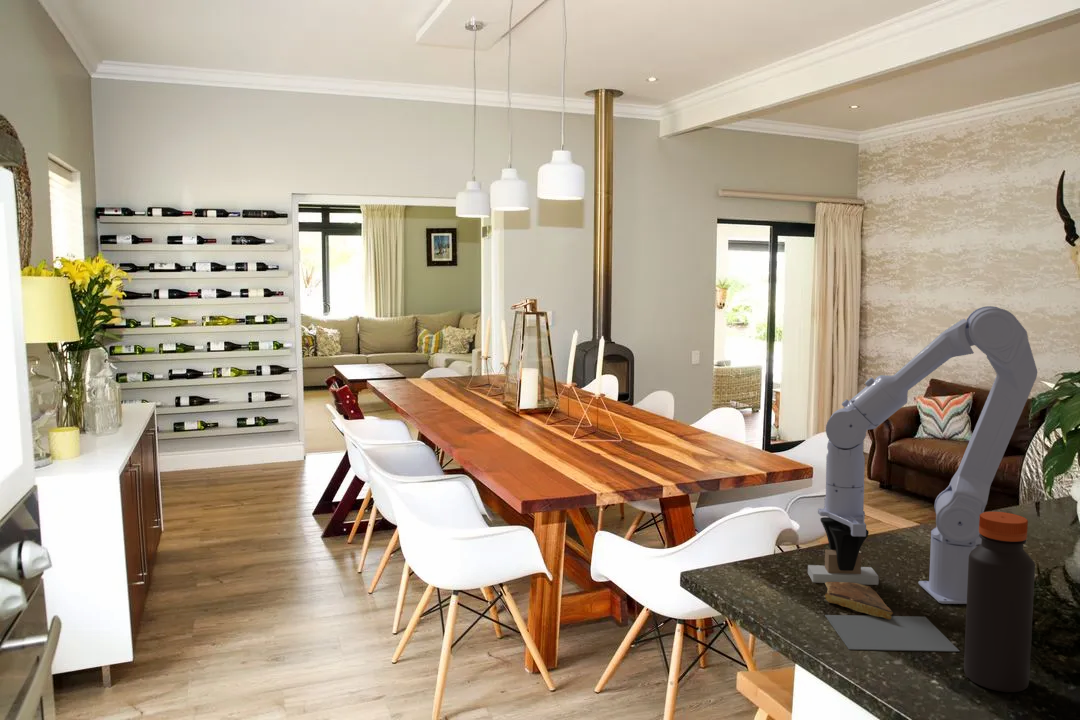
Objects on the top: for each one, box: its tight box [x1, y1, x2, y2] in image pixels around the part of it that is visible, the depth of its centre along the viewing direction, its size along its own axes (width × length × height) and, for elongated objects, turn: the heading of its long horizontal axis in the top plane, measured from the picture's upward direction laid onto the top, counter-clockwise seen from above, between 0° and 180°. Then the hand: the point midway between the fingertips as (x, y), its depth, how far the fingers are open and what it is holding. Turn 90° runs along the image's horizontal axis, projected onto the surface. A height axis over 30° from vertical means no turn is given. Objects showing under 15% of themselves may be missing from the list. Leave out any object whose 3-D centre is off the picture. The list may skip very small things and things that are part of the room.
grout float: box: [807, 549, 880, 586], centre depth 126 cm, size 10×4×4 cm, turn 82°
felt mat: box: [824, 614, 961, 653], centre depth 106 cm, size 14×10×1 cm
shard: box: [824, 582, 894, 620], centre depth 115 cm, size 11×8×2 cm
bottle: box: [963, 511, 1036, 693], centre depth 93 cm, size 7×7×20 cm
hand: (842, 566), depth 126 cm, fingers open, 3 cm apart
